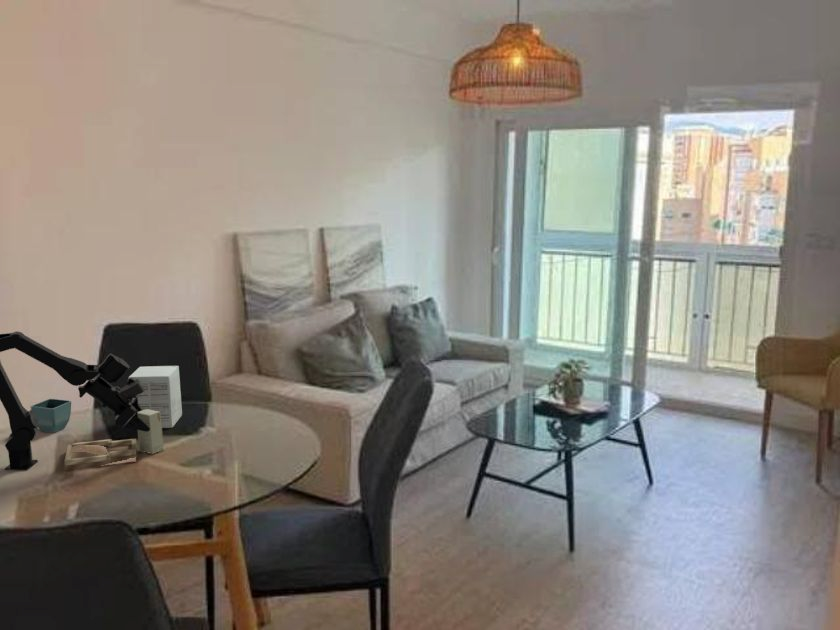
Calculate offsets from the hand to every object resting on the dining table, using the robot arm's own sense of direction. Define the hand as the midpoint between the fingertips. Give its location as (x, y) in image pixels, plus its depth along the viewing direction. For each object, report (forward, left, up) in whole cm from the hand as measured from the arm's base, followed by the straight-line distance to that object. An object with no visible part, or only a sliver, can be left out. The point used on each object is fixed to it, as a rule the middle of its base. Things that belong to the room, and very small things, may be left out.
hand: (149, 425), depth 233 cm
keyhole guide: (-5, +13, -8) cm, 16 cm away
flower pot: (+18, +38, -8) cm, 43 cm away
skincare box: (0, 0, -8) cm, 8 cm away
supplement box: (+26, +7, -8) cm, 28 cm away
